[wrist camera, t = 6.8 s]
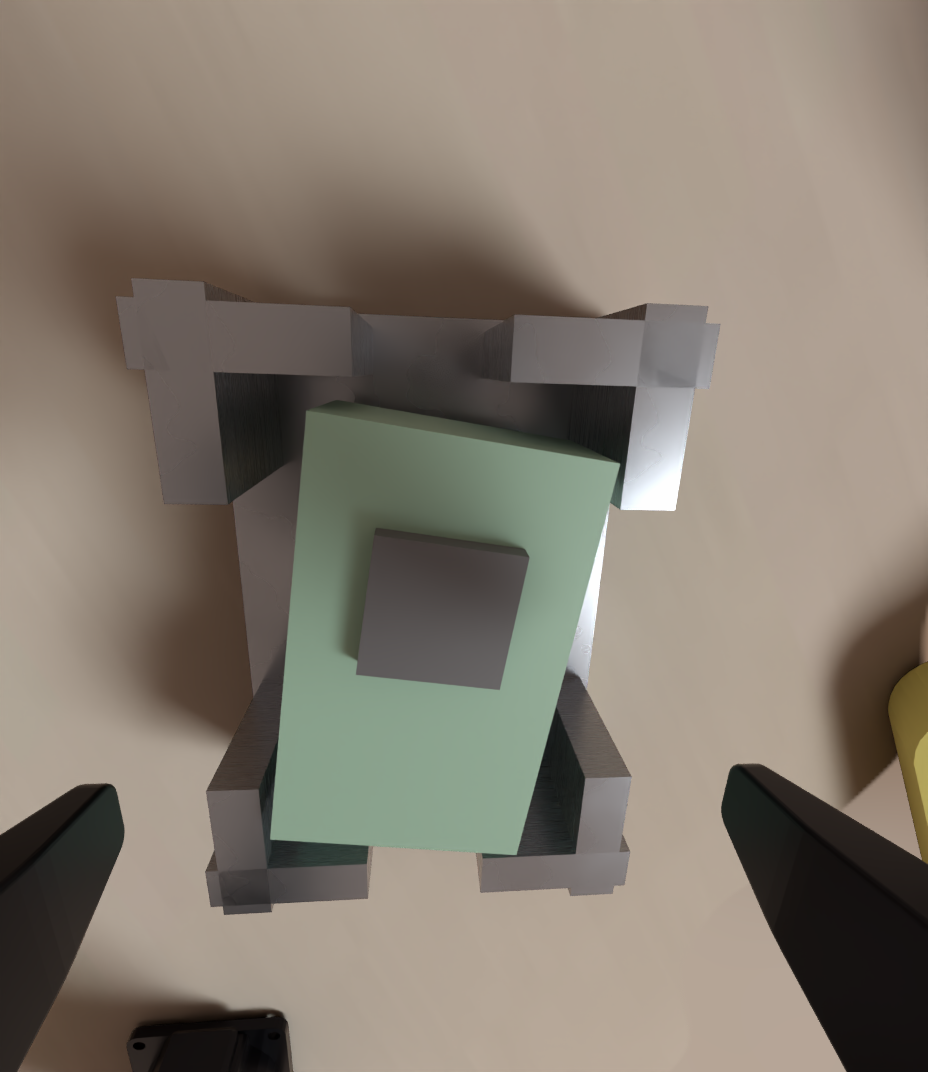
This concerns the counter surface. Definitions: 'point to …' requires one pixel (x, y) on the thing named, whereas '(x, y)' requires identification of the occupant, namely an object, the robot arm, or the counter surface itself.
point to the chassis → (272, 508)
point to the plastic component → (913, 745)
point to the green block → (429, 626)
